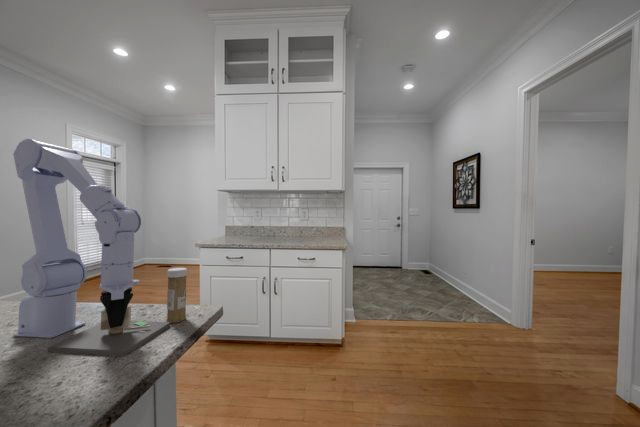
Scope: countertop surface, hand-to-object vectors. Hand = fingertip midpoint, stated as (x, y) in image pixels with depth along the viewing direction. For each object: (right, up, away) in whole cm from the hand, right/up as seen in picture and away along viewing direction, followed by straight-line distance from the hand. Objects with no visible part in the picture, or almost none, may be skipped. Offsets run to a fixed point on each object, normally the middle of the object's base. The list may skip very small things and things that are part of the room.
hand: (116, 324), depth 59 cm
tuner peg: (+2, -2, +1) cm, 3 cm away
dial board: (0, -3, 0) cm, 3 cm away
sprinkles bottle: (+8, -4, +10) cm, 13 cm away
